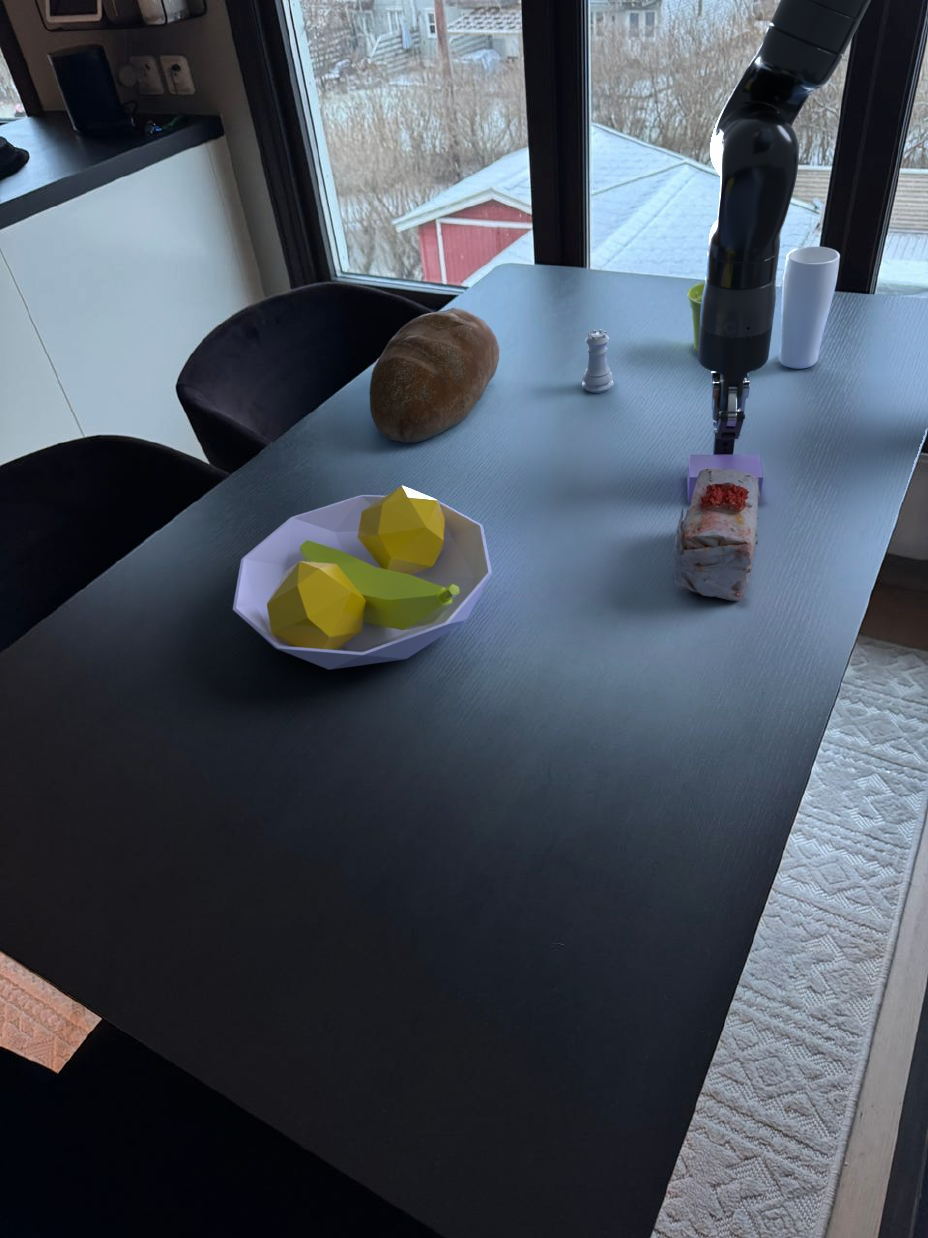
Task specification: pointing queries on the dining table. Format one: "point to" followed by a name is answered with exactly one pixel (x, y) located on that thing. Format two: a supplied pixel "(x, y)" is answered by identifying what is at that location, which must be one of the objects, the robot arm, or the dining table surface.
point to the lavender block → (723, 467)
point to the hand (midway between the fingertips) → (722, 459)
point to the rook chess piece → (597, 364)
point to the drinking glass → (806, 303)
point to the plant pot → (696, 309)
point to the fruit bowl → (364, 579)
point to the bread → (432, 374)
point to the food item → (718, 535)
